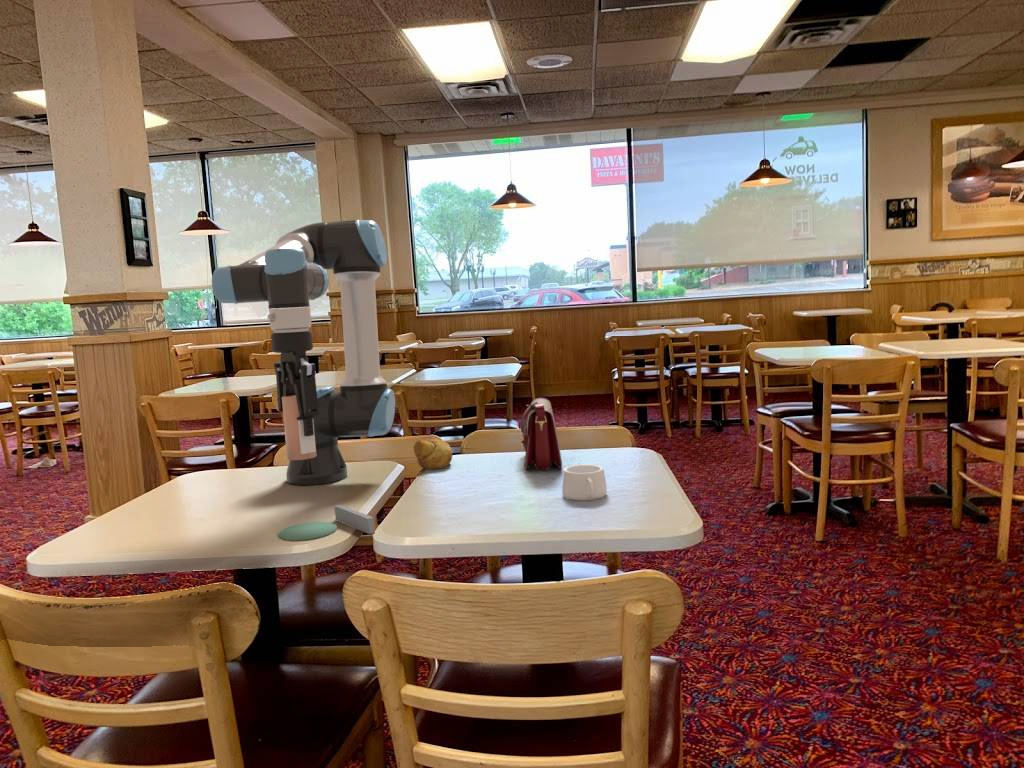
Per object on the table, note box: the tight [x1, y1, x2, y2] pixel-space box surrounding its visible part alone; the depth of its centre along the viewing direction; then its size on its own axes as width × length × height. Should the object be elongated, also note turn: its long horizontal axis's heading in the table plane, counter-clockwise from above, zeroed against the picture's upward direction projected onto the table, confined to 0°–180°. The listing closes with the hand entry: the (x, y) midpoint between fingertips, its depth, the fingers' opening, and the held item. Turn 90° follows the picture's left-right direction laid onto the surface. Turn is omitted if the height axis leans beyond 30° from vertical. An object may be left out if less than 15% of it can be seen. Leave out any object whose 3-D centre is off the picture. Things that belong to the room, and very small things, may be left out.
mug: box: [561, 464, 608, 501], centre depth 163 cm, size 12×10×6 cm
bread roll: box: [413, 438, 453, 470], centre depth 203 cm, size 13×10×8 cm
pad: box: [278, 520, 338, 542], centre depth 148 cm, size 11×11×1 cm
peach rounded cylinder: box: [282, 395, 316, 460], centre depth 146 cm, size 6×6×12 cm
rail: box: [334, 504, 376, 535], centre depth 150 cm, size 14×1×3 cm, turn 40°
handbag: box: [519, 397, 563, 471], centre depth 199 cm, size 28×11×17 cm, turn 178°
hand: (301, 450), depth 147 cm, fingers closed on peach rounded cylinder, 5 cm apart
